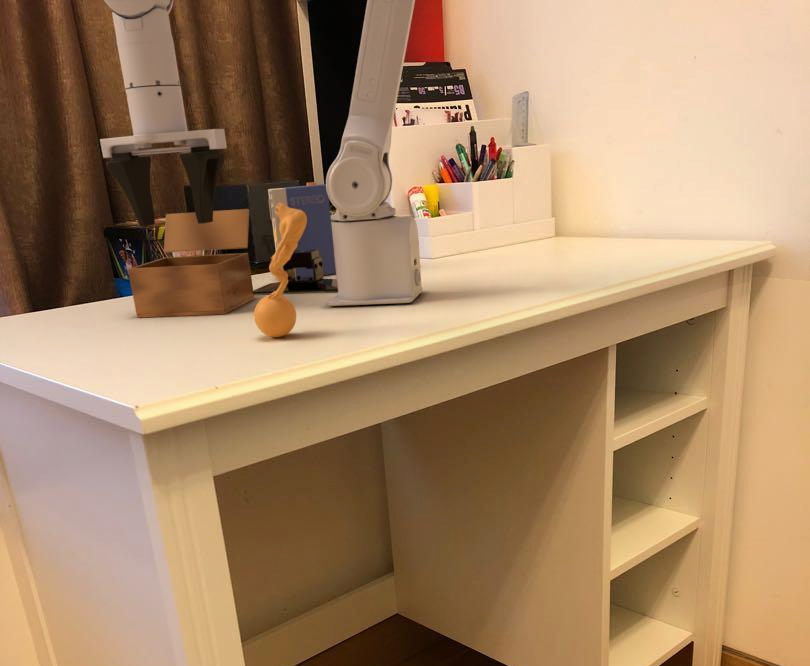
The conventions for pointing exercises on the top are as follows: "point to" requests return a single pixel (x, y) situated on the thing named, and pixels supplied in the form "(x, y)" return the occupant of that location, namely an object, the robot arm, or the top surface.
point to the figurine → (281, 276)
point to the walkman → (317, 226)
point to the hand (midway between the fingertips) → (176, 224)
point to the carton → (191, 285)
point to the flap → (206, 231)
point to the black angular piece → (303, 284)
